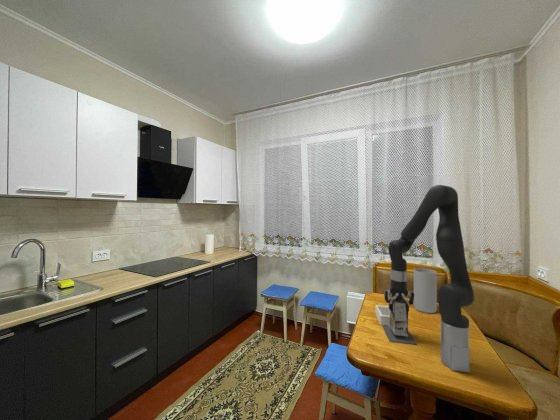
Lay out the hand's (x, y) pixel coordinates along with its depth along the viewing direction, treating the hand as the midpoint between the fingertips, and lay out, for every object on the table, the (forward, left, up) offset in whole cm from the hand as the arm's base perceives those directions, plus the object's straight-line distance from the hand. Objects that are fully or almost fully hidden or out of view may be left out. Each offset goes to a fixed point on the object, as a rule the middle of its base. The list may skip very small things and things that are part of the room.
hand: (398, 311), depth 115 cm
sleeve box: (+16, +1, -12) cm, 20 cm away
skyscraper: (+41, -11, -12) cm, 44 cm away
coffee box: (0, 0, -10) cm, 10 cm away
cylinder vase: (+36, -26, -12) cm, 46 cm away
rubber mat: (0, 0, -12) cm, 12 cm away
